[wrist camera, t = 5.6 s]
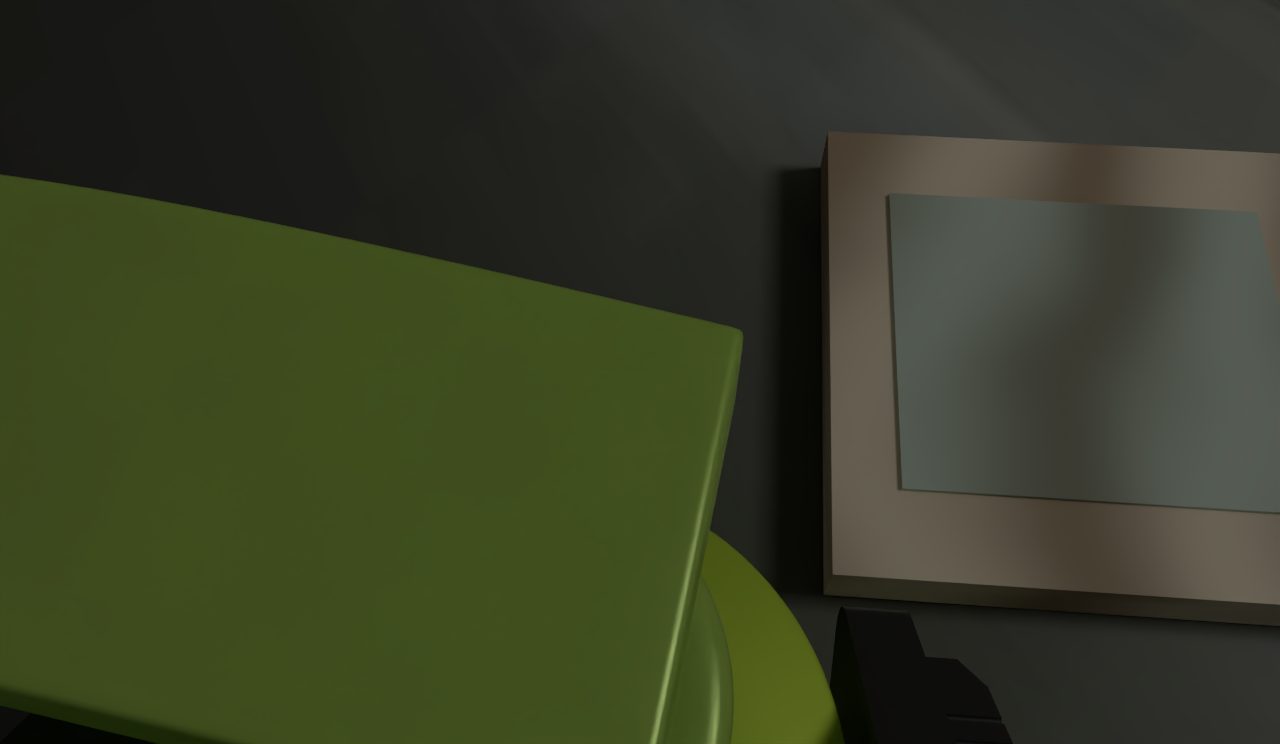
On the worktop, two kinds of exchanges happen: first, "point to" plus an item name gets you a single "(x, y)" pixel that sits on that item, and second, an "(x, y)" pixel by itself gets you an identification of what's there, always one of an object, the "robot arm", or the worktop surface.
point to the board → (1051, 376)
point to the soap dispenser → (364, 497)
